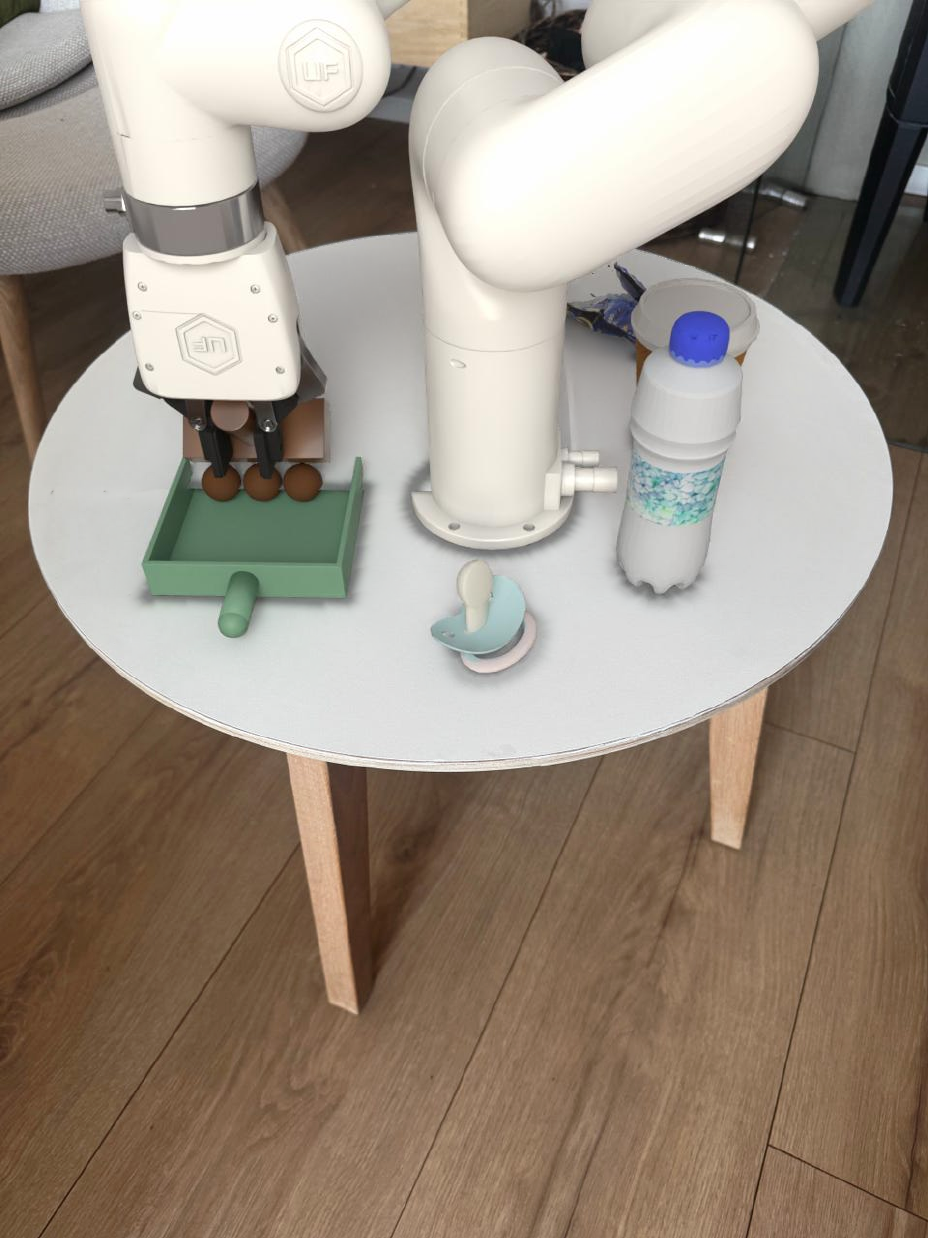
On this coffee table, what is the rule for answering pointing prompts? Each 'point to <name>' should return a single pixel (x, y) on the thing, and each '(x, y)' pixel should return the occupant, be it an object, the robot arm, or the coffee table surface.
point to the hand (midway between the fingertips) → (246, 464)
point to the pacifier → (487, 619)
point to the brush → (299, 428)
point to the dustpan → (253, 547)
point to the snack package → (611, 308)
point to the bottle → (678, 452)
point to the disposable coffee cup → (686, 296)
